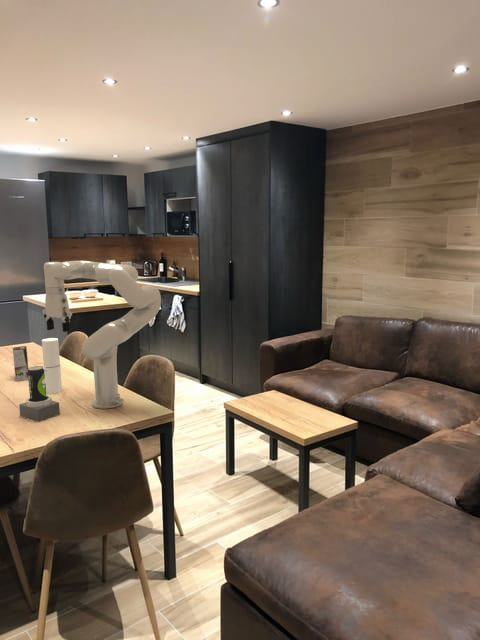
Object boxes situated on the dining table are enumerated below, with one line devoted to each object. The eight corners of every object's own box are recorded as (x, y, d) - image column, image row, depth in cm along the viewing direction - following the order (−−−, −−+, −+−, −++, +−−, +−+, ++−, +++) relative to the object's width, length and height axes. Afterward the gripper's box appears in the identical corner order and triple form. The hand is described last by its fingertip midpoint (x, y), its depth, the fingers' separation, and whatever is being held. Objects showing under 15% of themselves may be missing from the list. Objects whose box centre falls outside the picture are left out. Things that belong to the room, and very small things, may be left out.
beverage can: (27, 404, 203) (24, 368, 200) (40, 400, 208) (37, 365, 205) (37, 407, 199) (33, 370, 197) (50, 402, 204) (47, 367, 202)
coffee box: (29, 380, 255) (26, 349, 252) (15, 381, 253) (12, 350, 250) (29, 375, 264) (26, 345, 261) (16, 376, 261) (13, 346, 258)
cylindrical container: (56, 394, 232) (52, 341, 227) (42, 393, 233) (38, 341, 229) (65, 389, 238) (61, 338, 234) (51, 388, 240) (47, 337, 236)
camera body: (59, 414, 205) (58, 397, 204) (38, 421, 197) (37, 404, 196) (41, 408, 212) (40, 393, 211) (20, 416, 204) (18, 399, 202)
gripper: (76, 290, 211) (79, 330, 214) (48, 289, 220) (51, 327, 223) (62, 292, 205) (65, 333, 208) (34, 291, 214) (37, 330, 216)
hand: (58, 330), depth 215 cm, fingers open, 9 cm apart
